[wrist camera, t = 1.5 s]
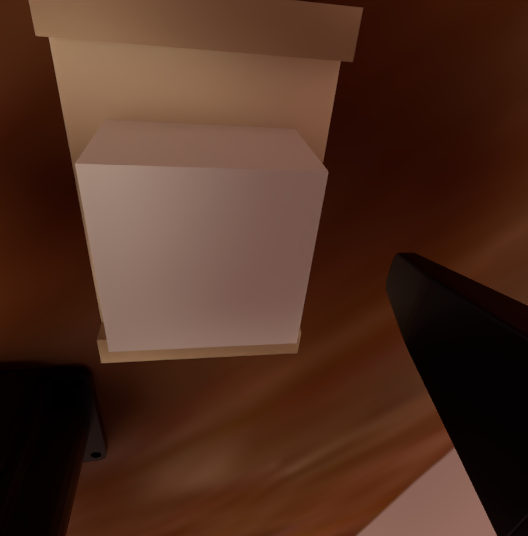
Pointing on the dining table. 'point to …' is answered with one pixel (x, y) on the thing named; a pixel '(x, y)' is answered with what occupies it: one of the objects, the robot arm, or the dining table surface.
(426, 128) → the dining table surface
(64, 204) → the dining table surface
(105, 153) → the pale pink square block
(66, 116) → the castle tower
